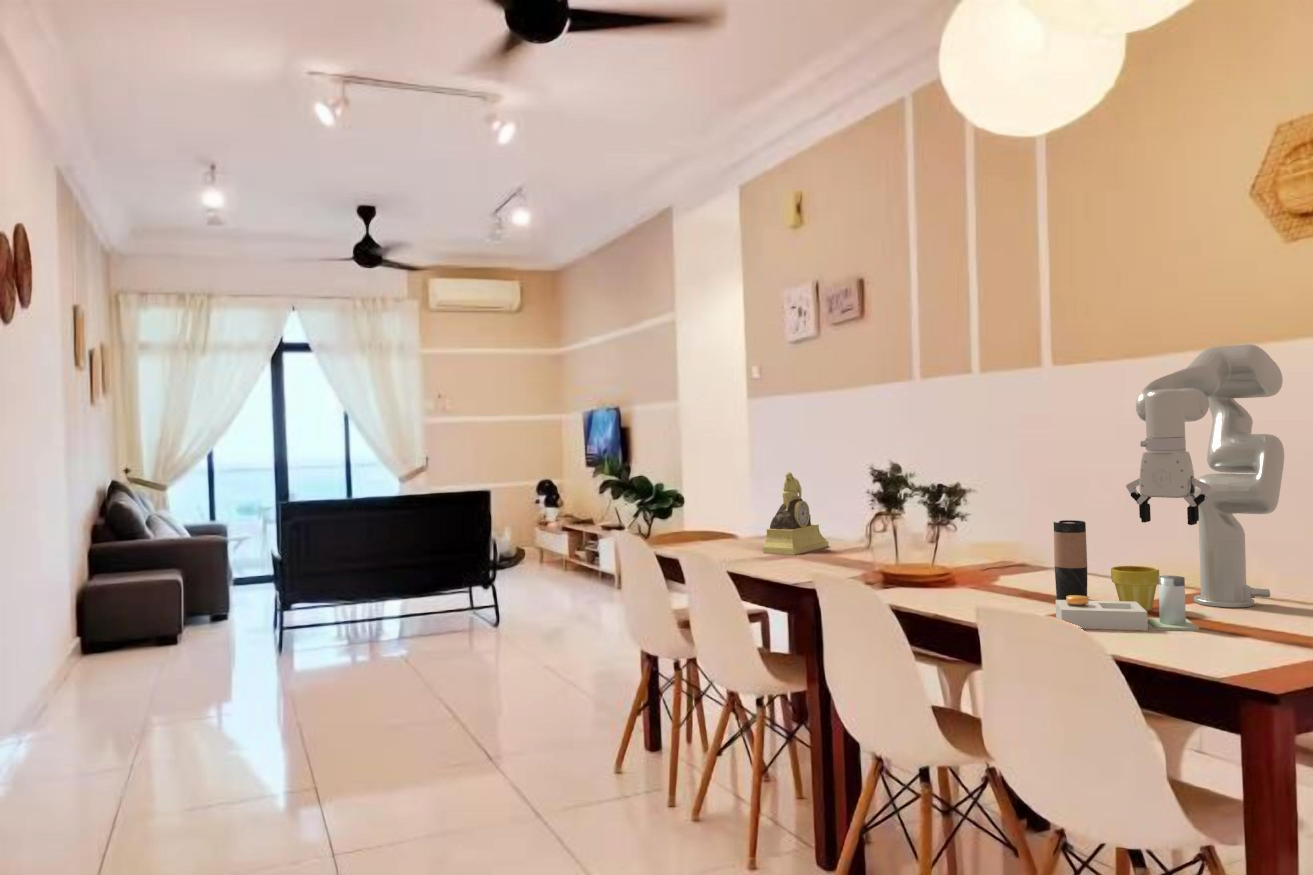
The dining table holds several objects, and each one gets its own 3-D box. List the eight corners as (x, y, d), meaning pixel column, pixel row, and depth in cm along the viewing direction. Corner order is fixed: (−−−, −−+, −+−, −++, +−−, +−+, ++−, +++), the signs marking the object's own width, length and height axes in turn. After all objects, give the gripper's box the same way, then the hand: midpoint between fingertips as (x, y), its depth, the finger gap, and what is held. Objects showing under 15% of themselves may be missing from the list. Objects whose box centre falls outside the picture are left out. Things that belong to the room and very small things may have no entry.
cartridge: (1164, 619, 204) (1163, 574, 204) (1189, 622, 201) (1188, 576, 201) (1156, 622, 201) (1154, 577, 201) (1180, 625, 197) (1179, 579, 197)
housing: (1136, 619, 208) (1136, 601, 208) (1147, 630, 197) (1147, 611, 197) (1056, 616, 214) (1055, 599, 214) (1061, 627, 202) (1061, 609, 202)
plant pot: (1102, 607, 222) (1101, 567, 222) (1132, 603, 226) (1131, 563, 226) (1139, 614, 213) (1138, 573, 213) (1170, 610, 217) (1169, 569, 217)
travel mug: (1091, 602, 229) (1089, 523, 229) (1059, 602, 230) (1056, 523, 230) (1084, 597, 236) (1081, 519, 236) (1052, 597, 238) (1050, 520, 238)
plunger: (1087, 613, 208) (1087, 595, 208) (1090, 617, 204) (1089, 599, 204) (1065, 613, 209) (1065, 594, 209) (1068, 617, 205) (1067, 598, 205)
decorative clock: (793, 555, 333) (791, 473, 333) (763, 553, 341) (760, 473, 341) (828, 546, 355) (826, 469, 355) (799, 544, 363) (796, 469, 363)
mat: (1187, 621, 204) (1187, 618, 204) (1198, 630, 195) (1198, 628, 195) (1147, 620, 207) (1147, 617, 207) (1157, 629, 197) (1156, 626, 197)
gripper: (1118, 447, 206) (1121, 522, 206) (1201, 446, 192) (1204, 527, 193) (1133, 445, 210) (1135, 519, 211) (1216, 444, 197) (1218, 523, 197)
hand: (1168, 523), depth 202 cm, fingers open, 9 cm apart
